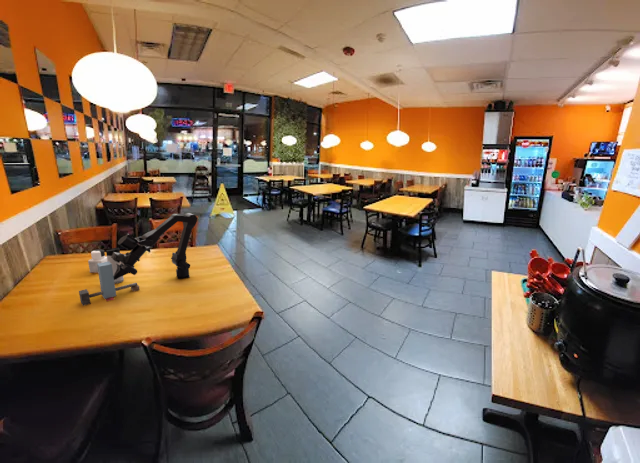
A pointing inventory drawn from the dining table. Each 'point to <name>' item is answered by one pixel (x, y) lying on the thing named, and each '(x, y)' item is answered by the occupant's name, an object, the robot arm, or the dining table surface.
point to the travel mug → (114, 263)
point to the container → (96, 259)
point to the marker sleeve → (106, 279)
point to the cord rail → (86, 296)
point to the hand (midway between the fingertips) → (113, 279)
